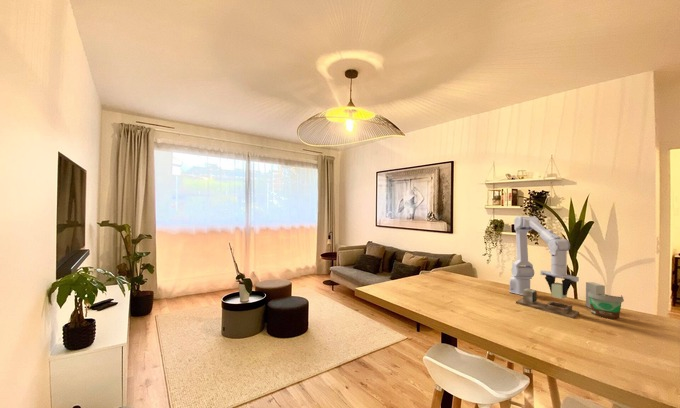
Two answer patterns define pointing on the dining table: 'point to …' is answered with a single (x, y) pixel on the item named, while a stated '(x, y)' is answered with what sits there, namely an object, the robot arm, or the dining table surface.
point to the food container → (605, 305)
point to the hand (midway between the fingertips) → (558, 293)
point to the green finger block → (557, 290)
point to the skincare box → (593, 290)
